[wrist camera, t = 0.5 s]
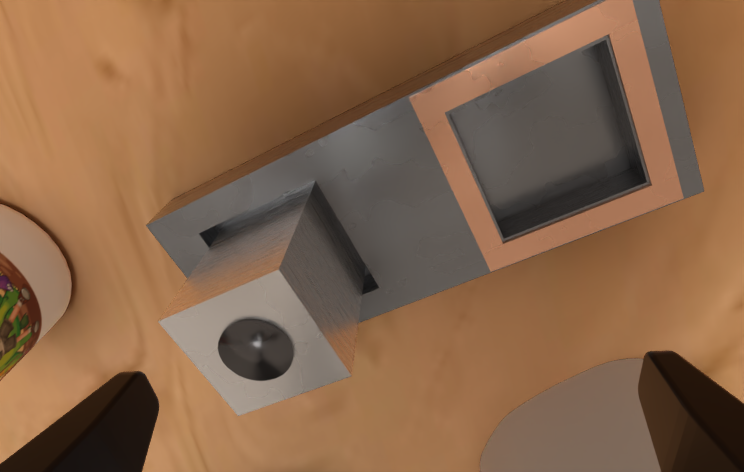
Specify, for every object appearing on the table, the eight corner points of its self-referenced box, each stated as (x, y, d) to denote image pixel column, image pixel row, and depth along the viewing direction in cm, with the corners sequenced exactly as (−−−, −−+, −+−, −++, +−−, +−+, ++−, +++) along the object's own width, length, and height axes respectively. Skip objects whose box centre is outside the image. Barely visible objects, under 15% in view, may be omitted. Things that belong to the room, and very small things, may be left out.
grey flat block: (266, 329, 26) (253, 364, 24) (170, 200, 23) (144, 226, 21) (672, 167, 21) (705, 192, 19) (621, -28, 18) (653, -28, 15)
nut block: (281, 299, 24) (237, 419, 18) (226, 222, 22) (155, 324, 16) (365, 264, 23) (351, 379, 16) (315, 180, 21) (277, 272, 15)
